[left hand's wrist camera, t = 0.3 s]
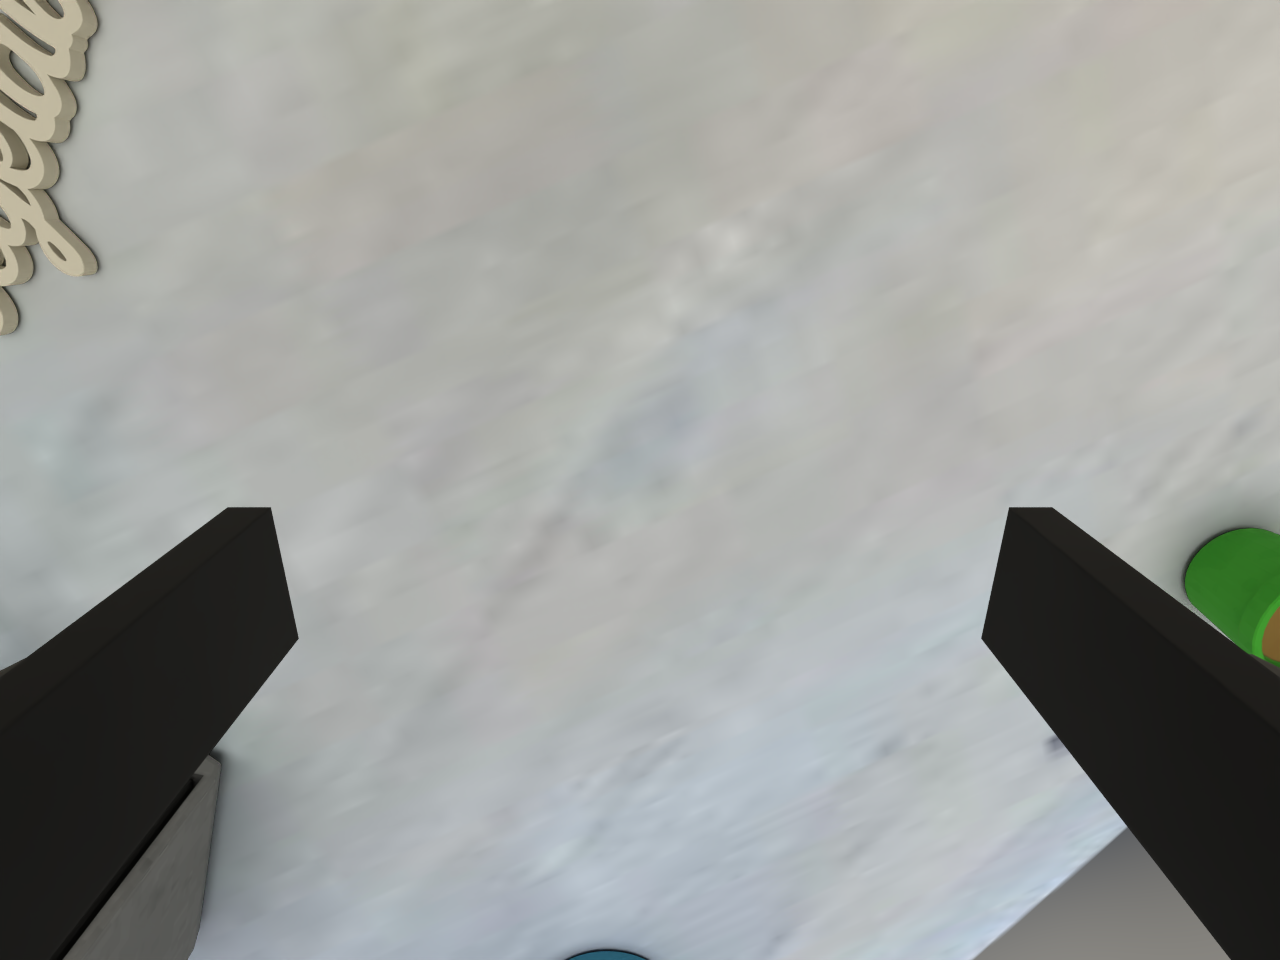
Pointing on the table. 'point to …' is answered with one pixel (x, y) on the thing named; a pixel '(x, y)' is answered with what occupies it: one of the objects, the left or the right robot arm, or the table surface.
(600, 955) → the camera mount
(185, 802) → the cooler box
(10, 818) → the left robot arm
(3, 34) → the decorative sign
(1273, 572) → the potted flower
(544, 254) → the table surface
